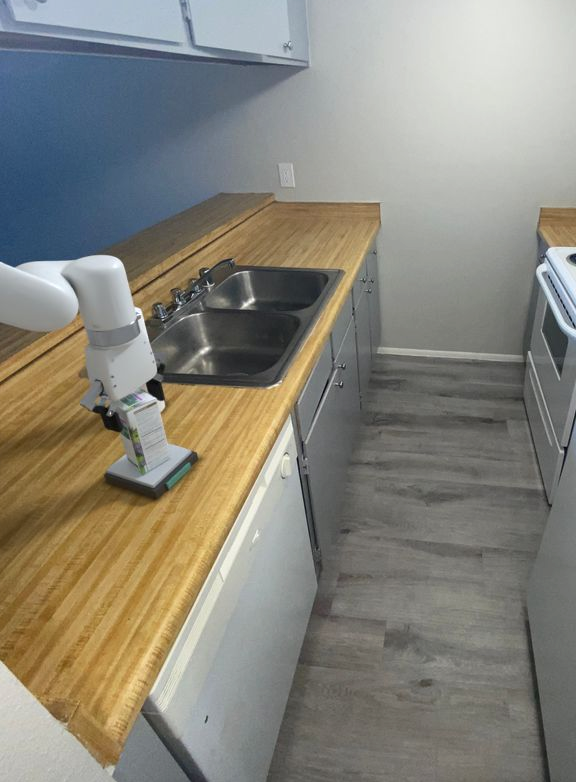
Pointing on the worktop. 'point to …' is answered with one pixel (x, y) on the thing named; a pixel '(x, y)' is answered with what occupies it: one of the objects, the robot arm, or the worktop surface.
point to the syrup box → (142, 431)
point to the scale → (152, 473)
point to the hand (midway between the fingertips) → (137, 413)
